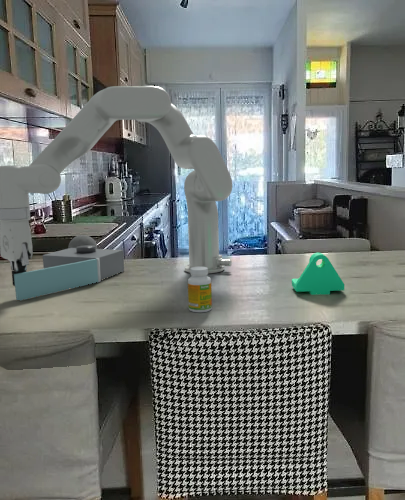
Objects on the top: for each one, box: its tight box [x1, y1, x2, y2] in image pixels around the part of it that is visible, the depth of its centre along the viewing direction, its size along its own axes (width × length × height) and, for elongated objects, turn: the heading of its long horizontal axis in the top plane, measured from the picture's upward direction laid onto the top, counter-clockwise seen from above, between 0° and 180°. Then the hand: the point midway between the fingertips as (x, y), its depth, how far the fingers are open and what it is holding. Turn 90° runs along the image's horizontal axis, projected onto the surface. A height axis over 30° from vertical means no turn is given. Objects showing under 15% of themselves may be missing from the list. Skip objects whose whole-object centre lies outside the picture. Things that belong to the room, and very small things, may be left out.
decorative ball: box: [67, 234, 98, 249], centre depth 169 cm, size 10×10×10 cm
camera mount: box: [291, 252, 345, 296], centre depth 123 cm, size 12×8×10 cm, turn 89°
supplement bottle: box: [187, 267, 213, 313], centre depth 109 cm, size 5×5×10 cm
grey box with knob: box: [42, 245, 125, 281], centre depth 150 cm, size 20×14×9 cm
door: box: [14, 258, 102, 301], centre depth 130 cm, size 26×1×7 cm, turn 138°
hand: (20, 285), depth 124 cm, fingers closed
